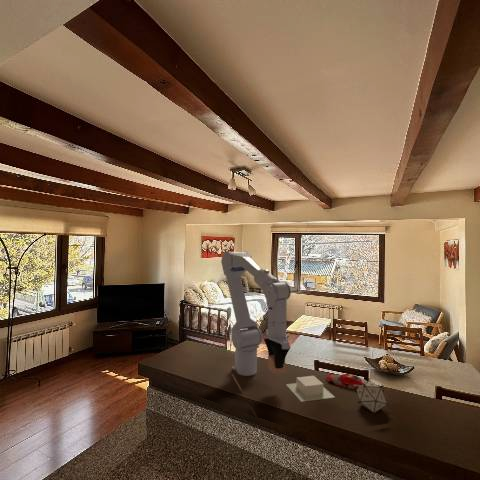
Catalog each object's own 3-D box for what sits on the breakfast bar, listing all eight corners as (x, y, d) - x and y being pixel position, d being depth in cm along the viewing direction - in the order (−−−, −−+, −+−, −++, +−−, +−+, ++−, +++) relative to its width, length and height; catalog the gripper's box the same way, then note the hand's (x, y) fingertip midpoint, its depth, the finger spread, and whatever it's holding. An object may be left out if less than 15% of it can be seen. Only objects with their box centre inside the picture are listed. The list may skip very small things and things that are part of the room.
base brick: (296, 387, 95) (296, 377, 95) (313, 385, 96) (313, 375, 96) (305, 396, 89) (305, 386, 89) (323, 394, 91) (323, 384, 91)
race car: (324, 385, 99) (324, 373, 99) (328, 379, 103) (328, 367, 103) (367, 396, 92) (367, 383, 92) (369, 389, 96) (370, 376, 96)
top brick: (268, 368, 94) (268, 355, 95) (279, 367, 96) (279, 354, 96) (272, 373, 91) (272, 359, 91) (284, 372, 92) (285, 358, 92)
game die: (368, 427, 82) (351, 402, 80) (360, 401, 90) (344, 377, 88) (400, 417, 79) (383, 390, 77) (389, 391, 87) (374, 366, 85)
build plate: (285, 386, 97) (285, 384, 97) (316, 383, 99) (316, 380, 99) (301, 404, 86) (301, 401, 86) (335, 399, 89) (335, 397, 89)
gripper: (299, 326, 87) (298, 373, 87) (279, 315, 101) (279, 355, 101) (276, 327, 86) (276, 375, 85) (260, 315, 100) (259, 357, 99)
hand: (276, 364), depth 93 cm, fingers closed on top brick, 4 cm apart
